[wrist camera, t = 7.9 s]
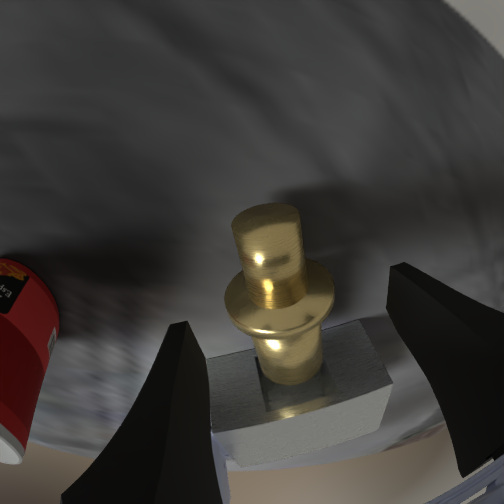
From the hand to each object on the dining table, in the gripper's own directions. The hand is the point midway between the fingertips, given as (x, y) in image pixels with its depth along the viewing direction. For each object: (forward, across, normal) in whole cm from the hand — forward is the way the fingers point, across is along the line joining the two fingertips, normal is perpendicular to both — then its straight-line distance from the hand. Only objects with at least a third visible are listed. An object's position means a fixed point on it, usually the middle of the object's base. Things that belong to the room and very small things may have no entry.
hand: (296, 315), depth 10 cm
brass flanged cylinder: (+8, 0, +3) cm, 8 cm away
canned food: (+8, +18, +1) cm, 20 cm away
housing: (+8, 0, +14) cm, 16 cm away
